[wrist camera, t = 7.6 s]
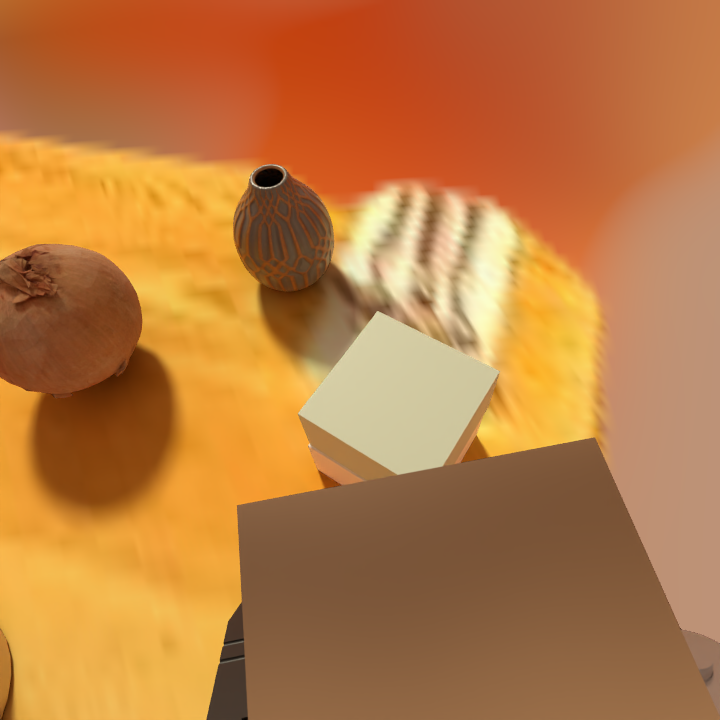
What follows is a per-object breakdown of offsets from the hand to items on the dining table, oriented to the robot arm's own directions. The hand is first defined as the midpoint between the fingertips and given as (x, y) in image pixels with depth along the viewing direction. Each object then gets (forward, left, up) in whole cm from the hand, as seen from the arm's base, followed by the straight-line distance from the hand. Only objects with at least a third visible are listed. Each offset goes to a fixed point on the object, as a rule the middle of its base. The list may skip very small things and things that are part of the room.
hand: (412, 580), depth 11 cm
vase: (+10, +23, -18) cm, 31 cm away
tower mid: (+6, +7, -14) cm, 17 cm away
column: (-1, -2, -5) cm, 5 cm away
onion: (-5, +26, -18) cm, 32 cm away
